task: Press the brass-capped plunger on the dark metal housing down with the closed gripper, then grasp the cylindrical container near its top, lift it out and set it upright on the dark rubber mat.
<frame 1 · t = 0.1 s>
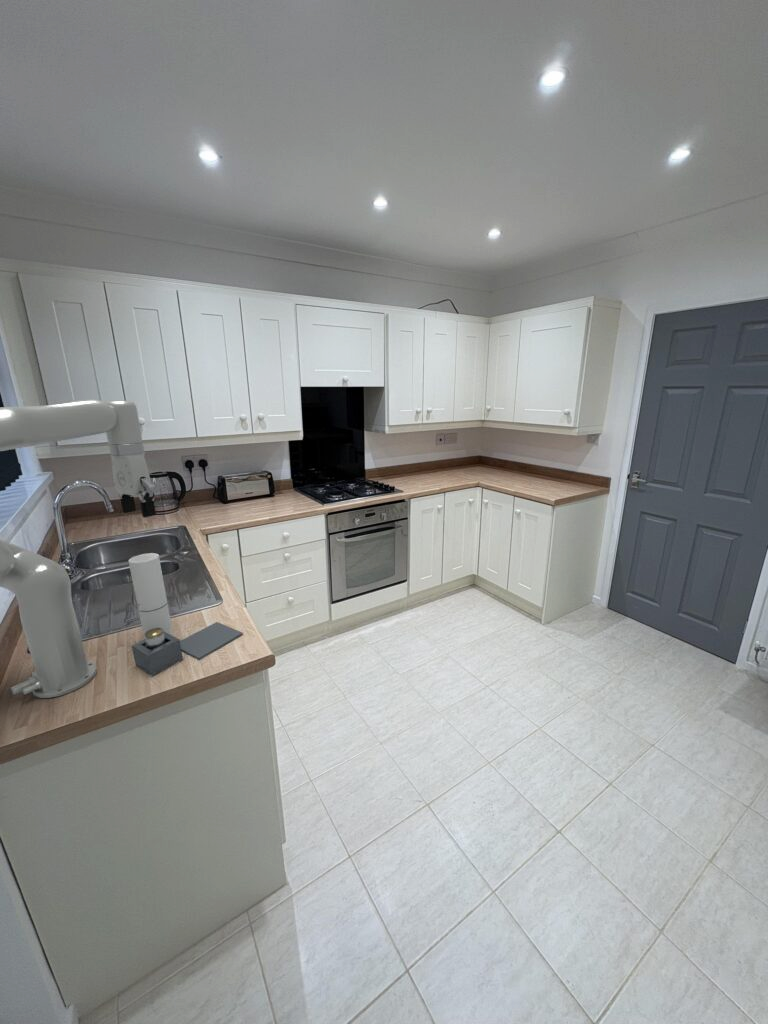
hand: (139, 513, 108), 37 cm above the counter, tool pointing down, fingers open, 9 cm apart
cylindrical container: (159, 639, 116), on the counter
rubber mat: (208, 640, 114), on the counter
plunger: (155, 641, 103), point 6 cm above the counter, slide at 0.0 cm
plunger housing: (159, 662, 105), on the counter
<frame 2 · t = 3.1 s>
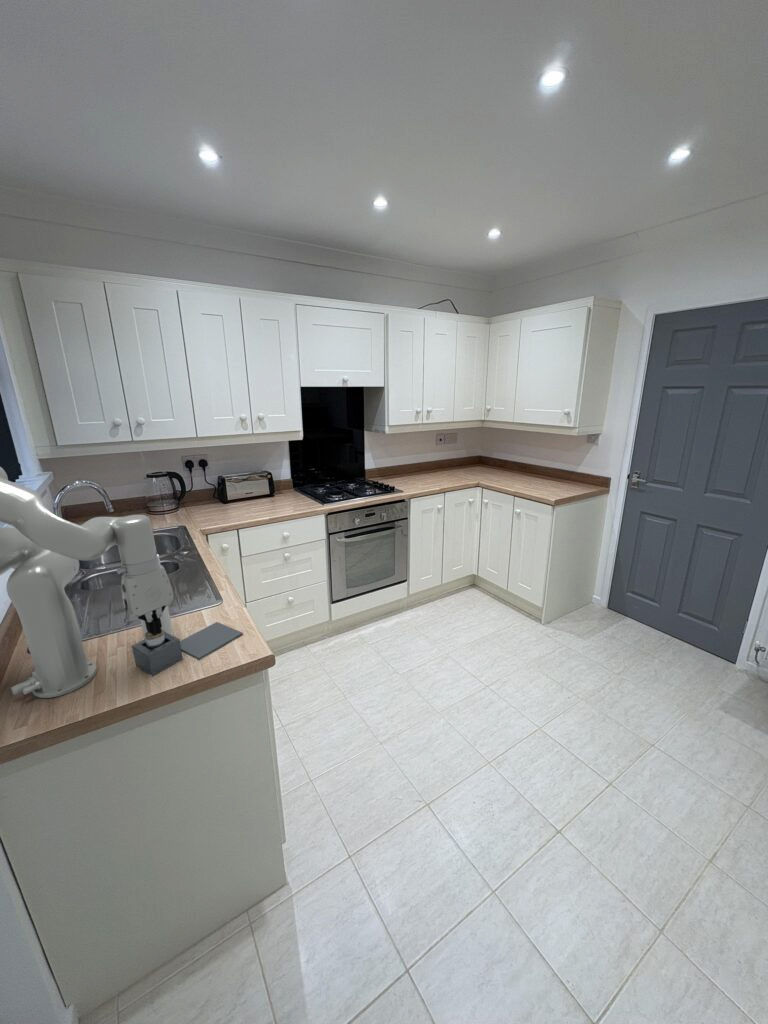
hand: (155, 632, 103), 9 cm above the counter, tool pointing down, fingers closed
plunger: (155, 642, 103), point 6 cm above the counter, slide at 0.2 cm, touching gripper
everything else where it was.
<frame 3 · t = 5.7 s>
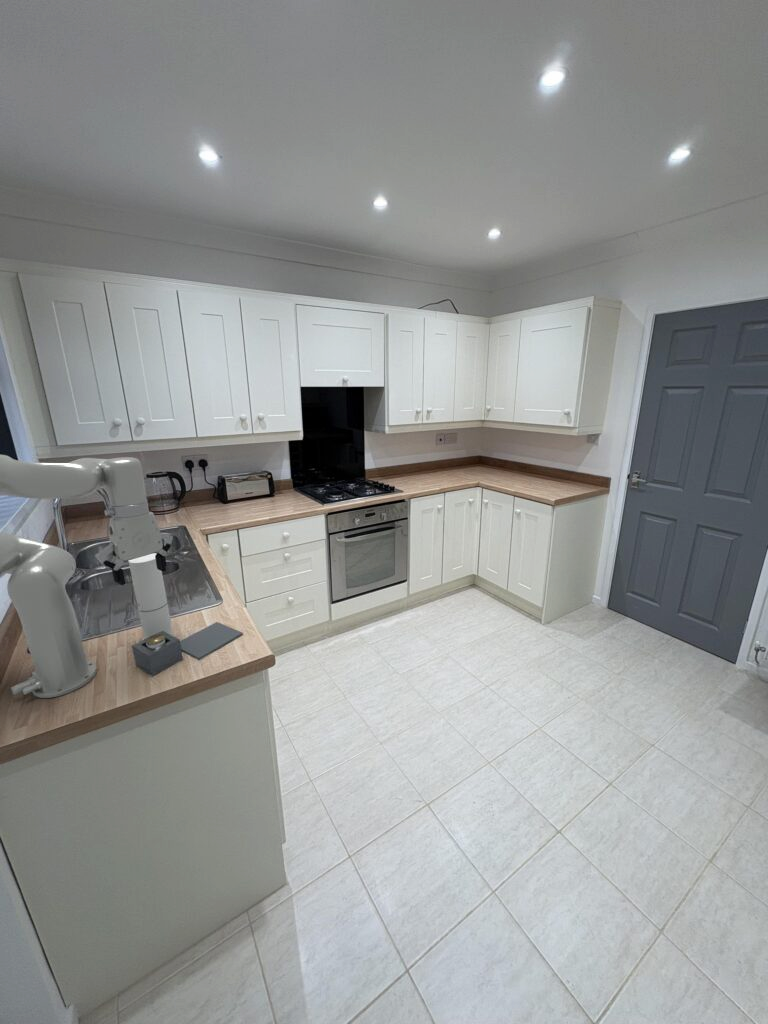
hand: (142, 576, 100), 24 cm above the counter, tool pointing down, fingers open, 9 cm apart
plunger: (156, 647, 104), point 4 cm above the counter, slide at 1.8 cm
everything else where it was.
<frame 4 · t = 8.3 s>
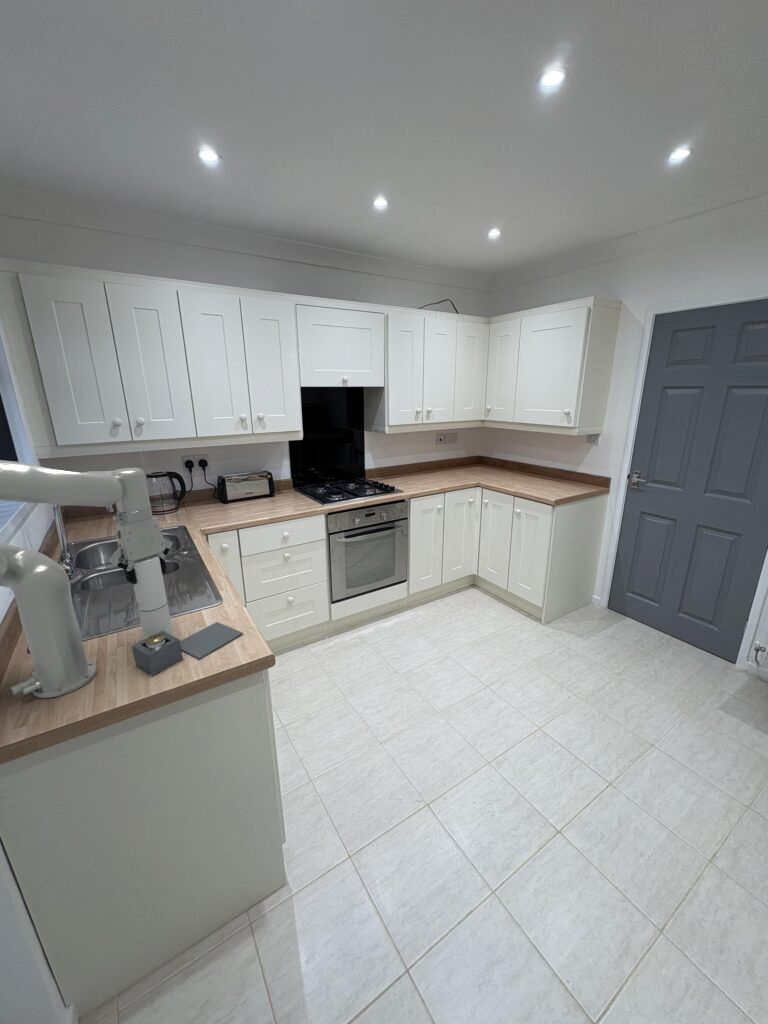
hand: (147, 577, 110), 19 cm above the counter, tool pointing down, fingers closed on cylindrical container, 7 cm apart
cylindrical container: (159, 639, 116), on the counter, touching gripper
everything else where it was.
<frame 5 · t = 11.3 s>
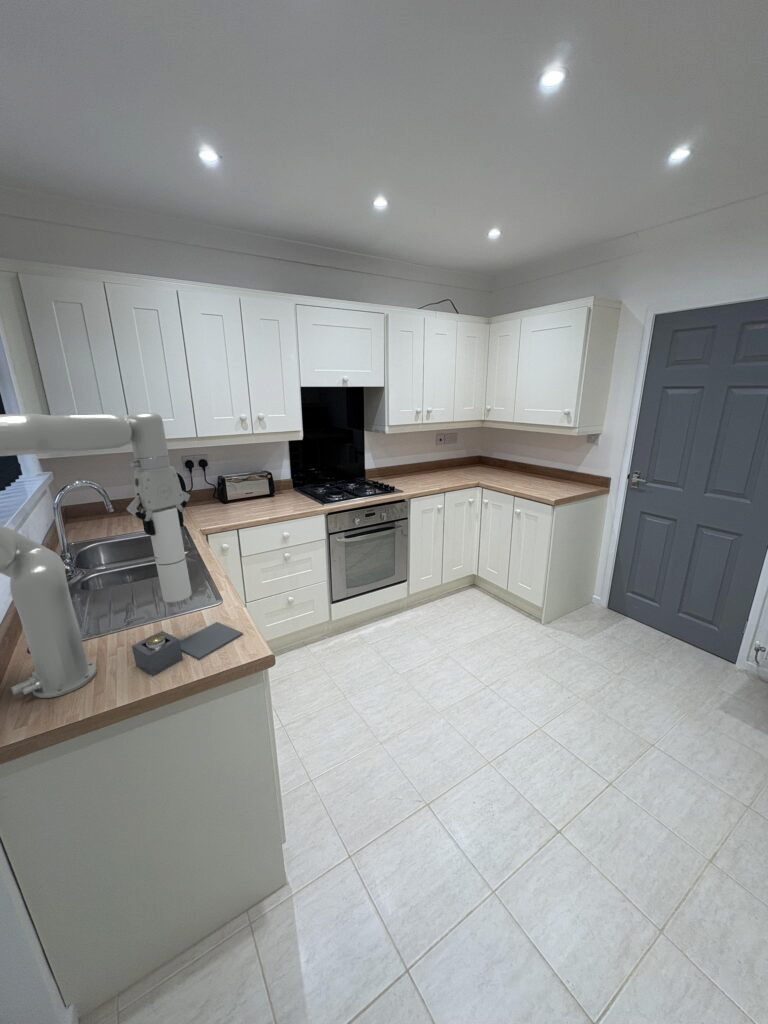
hand: (165, 529, 106), 33 cm above the counter, tool pointing down, fingers closed on cylindrical container, 7 cm apart
cylindrical container: (177, 596, 112), point 13 cm above the counter, touching gripper
everything else where it was.
when the fingers open (22 cm above the counter, at t = 14.6 s): cylindrical container drops 2 cm, resting on rubber mat.
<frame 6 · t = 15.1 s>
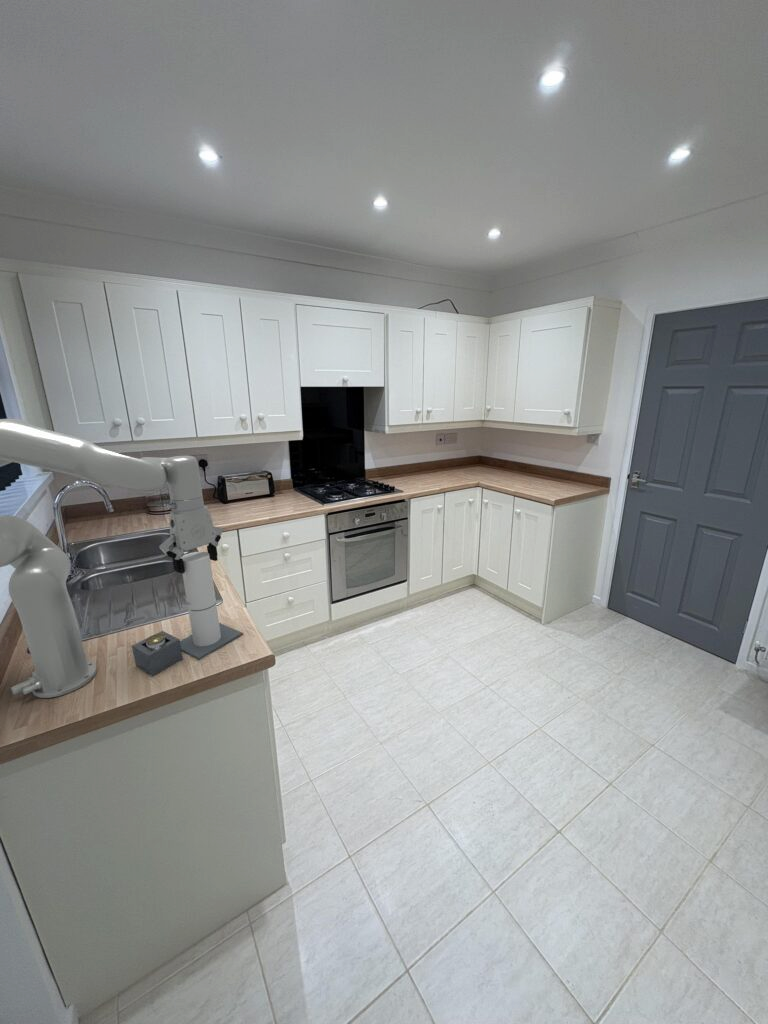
hand: (197, 565, 108), 23 cm above the counter, tool pointing down, fingers open, 9 cm apart
cylindrical container: (207, 639, 114), resting on rubber mat
everything else where it was.
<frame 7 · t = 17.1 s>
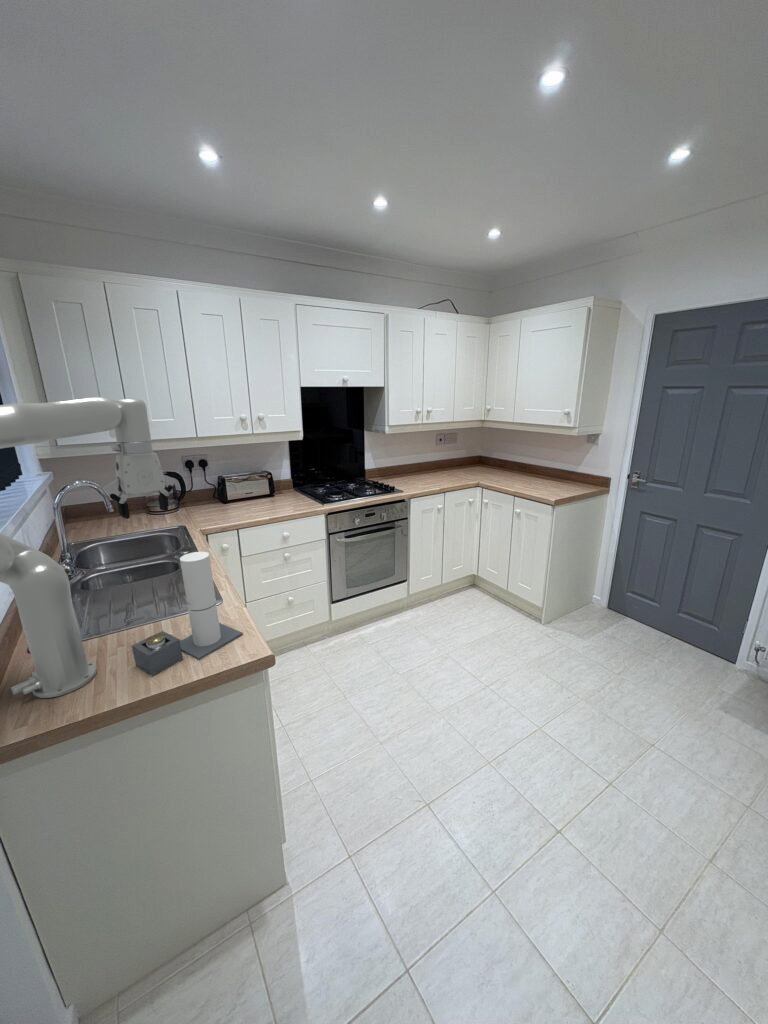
hand: (145, 513, 107), 37 cm above the counter, tool pointing down, fingers open, 9 cm apart
nothing on the counter moved.
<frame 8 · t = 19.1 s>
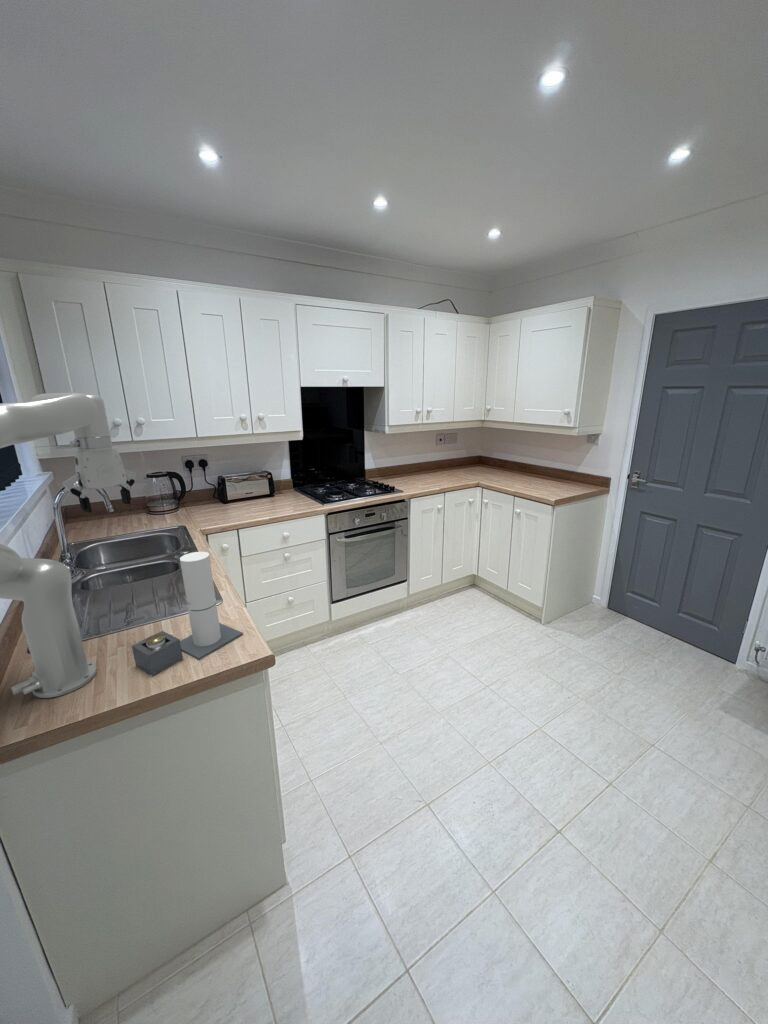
hand: (107, 507, 109), 38 cm above the counter, tool pointing down, fingers open, 9 cm apart
nothing on the counter moved.
at the end: plunger slide at 1.8 cm; cylindrical container inside the target area on the rubber mat (0.3 cm from its centre), point 0.4 cm above the rubber mat's base; cylindrical container tilted 0° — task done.
